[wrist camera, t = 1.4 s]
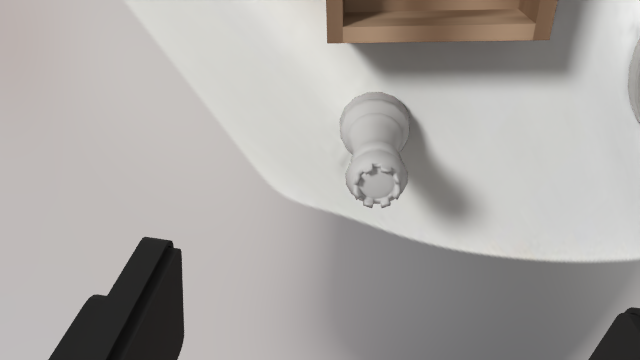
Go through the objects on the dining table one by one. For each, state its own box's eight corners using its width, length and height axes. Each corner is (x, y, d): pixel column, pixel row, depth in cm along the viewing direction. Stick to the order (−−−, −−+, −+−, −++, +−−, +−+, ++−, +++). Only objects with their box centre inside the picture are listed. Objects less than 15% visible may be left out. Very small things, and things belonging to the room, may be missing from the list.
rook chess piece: (364, 75, 30) (363, 133, 23) (423, 111, 31) (439, 177, 24) (326, 131, 32) (317, 198, 25) (383, 162, 33) (388, 236, 26)
